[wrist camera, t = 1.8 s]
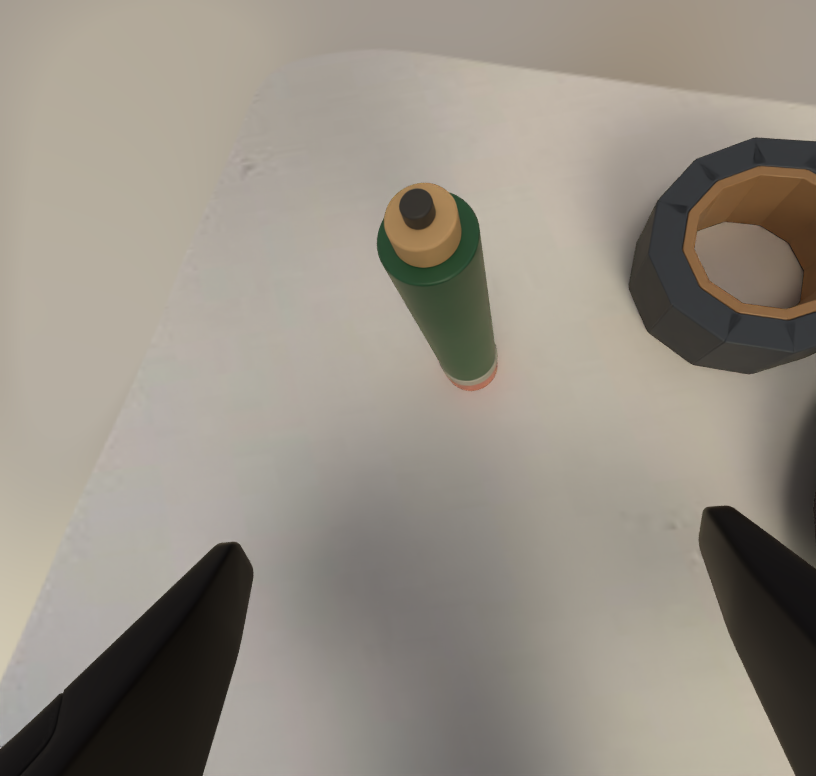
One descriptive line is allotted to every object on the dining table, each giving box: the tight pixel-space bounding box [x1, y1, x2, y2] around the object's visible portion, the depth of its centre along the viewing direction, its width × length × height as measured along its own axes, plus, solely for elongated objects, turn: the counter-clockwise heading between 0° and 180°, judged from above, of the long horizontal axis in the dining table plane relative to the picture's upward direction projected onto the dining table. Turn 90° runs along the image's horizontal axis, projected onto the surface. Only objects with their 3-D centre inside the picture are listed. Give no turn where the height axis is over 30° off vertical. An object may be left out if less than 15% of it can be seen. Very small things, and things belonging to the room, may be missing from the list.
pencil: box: [377, 183, 497, 391], centre depth 17 cm, size 2×2×14 cm
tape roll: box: [629, 138, 816, 374], centre depth 20 cm, size 8×8×4 cm
